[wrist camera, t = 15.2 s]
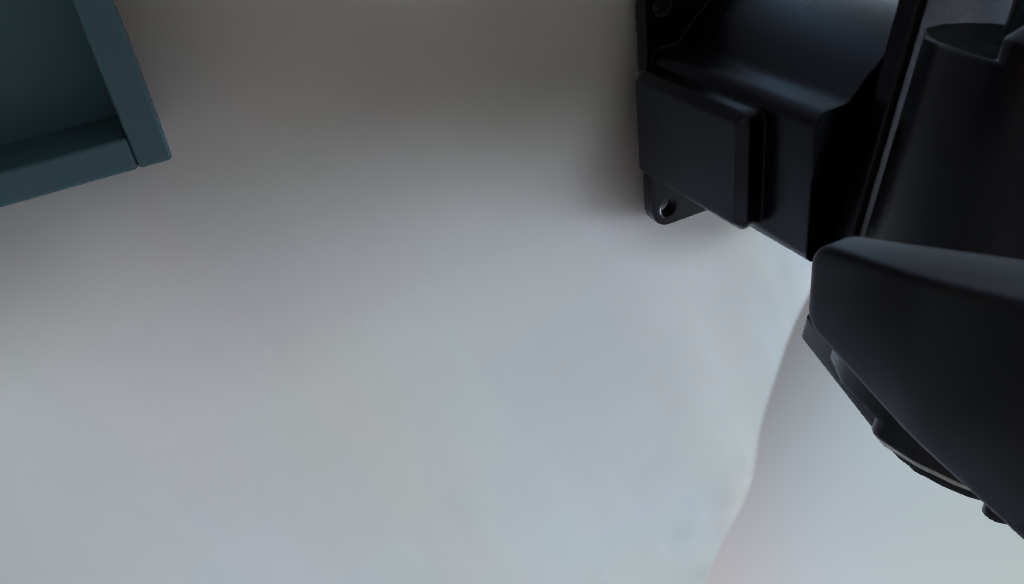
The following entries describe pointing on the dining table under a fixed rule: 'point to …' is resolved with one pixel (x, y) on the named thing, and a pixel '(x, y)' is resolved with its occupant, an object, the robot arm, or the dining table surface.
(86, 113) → the dark teal tray
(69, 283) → the dining table surface
